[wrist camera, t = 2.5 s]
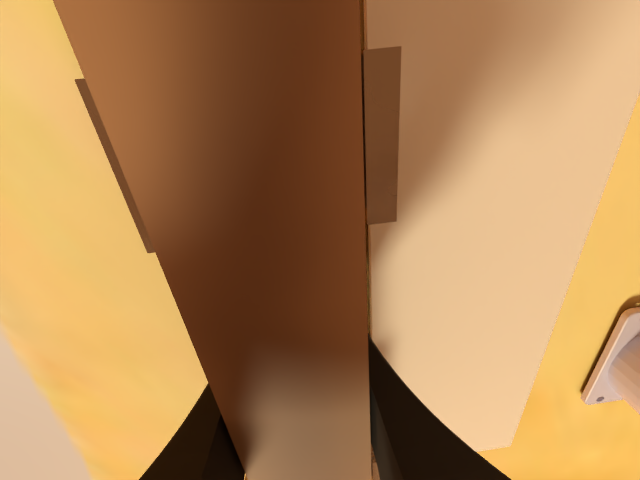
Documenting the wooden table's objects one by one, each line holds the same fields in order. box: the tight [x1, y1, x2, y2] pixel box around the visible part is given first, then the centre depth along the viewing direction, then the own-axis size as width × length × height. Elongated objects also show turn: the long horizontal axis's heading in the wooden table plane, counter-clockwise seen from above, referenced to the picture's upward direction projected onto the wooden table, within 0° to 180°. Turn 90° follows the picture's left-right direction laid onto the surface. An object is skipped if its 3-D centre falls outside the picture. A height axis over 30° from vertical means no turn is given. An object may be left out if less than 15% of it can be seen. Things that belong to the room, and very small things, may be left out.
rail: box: [53, 0, 372, 480], centre depth 10 cm, size 4×26×3 cm, turn 5°
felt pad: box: [364, 0, 640, 452], centre depth 15 cm, size 10×30×1 cm, turn 5°
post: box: [75, 46, 401, 253], centre depth 9 cm, size 7×4×4 cm, turn 95°
